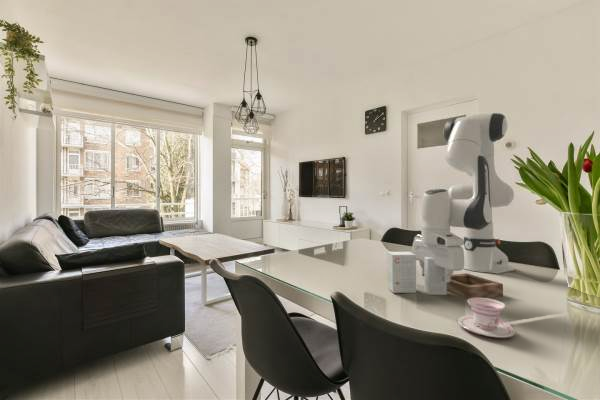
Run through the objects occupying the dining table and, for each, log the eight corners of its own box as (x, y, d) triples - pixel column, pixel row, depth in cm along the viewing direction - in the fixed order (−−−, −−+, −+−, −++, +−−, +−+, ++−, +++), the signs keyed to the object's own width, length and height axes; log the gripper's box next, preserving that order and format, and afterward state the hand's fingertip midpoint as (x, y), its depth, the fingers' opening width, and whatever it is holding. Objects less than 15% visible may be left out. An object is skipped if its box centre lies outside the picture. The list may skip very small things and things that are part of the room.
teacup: (493, 342, 64) (493, 315, 64) (447, 321, 75) (447, 298, 75) (526, 333, 69) (526, 307, 69) (478, 314, 80) (478, 292, 80)
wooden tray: (466, 284, 108) (466, 273, 108) (502, 296, 95) (502, 283, 95) (436, 287, 104) (436, 276, 104) (469, 300, 91) (469, 287, 91)
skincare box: (441, 291, 100) (442, 256, 100) (447, 295, 95) (447, 259, 95) (423, 290, 100) (423, 256, 100) (427, 294, 96) (428, 258, 96)
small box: (409, 287, 104) (409, 251, 104) (416, 293, 98) (416, 254, 98) (387, 287, 104) (387, 251, 104) (392, 293, 98) (392, 254, 98)
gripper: (407, 233, 107) (407, 271, 107) (451, 241, 87) (451, 287, 87) (421, 233, 108) (421, 270, 108) (468, 240, 89) (468, 285, 89)
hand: (435, 278), depth 98 cm, fingers open, 8 cm apart
